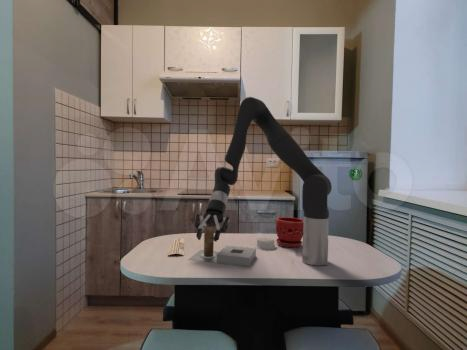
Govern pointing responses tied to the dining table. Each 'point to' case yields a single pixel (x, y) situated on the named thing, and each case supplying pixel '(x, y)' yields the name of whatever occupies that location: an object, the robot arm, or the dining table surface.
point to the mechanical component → (265, 244)
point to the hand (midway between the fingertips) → (206, 239)
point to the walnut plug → (208, 241)
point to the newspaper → (177, 246)
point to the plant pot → (289, 231)
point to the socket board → (228, 256)
